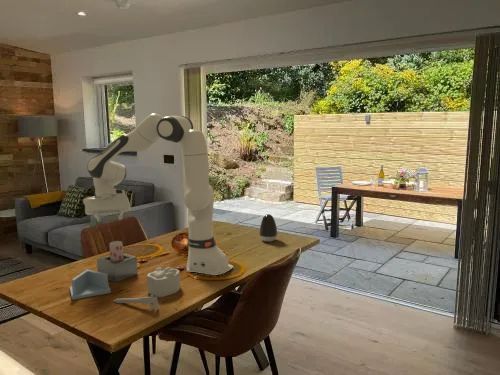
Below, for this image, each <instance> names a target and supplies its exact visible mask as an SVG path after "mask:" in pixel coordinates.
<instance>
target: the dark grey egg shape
mask: <svg viewBox="0 0 500 375" xmlns="http://www.w3.org/2000/svg"><path fill="white" fill-rule="evenodd" d="M259 225H260V226H259V234H258V235H259V237H260V239H261V240H262V241H263V242H269V243H270V242H273V241H276V240H277V237H278V228H277V223H276V220H275V219H274V217H273V215H272V214H265V215H264V216H263V217H262V219H261V223H260V224H259Z"/></svg>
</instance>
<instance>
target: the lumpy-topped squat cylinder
mask: <svg viewBox="0 0 500 375" xmlns="http://www.w3.org/2000/svg"><path fill="white" fill-rule="evenodd" d="M180 272H181V271H180V270H179V269H177V268H174V267H170V266H167V267H165V268H162V267H157V268H155V270H154V271H152V272H148V274H147V275H146V284H147V286H146V287H147V294H149V295H151V294H152V295H154V294H155V297H157V298H163V297H167V296H170V295H172V294H176V293H177V292H178V291H180V289H181V274H180Z"/></svg>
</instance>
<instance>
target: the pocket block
mask: <svg viewBox="0 0 500 375" xmlns="http://www.w3.org/2000/svg"><path fill="white" fill-rule="evenodd" d="M123 257H124V259H122V260H119V261H117V262H114V261H110V254H109V255H105V256H102V257H99V258H96V267H97V269H96V270H97V272H101V273H105V274H108V281H111V282H114V283H117V282H120V281H123V280H125V279H128V278H130V277H132V276H136V275H137V274H138V261H137V260H138V257H137V255H133V254H132V255H131V254H128V253H124V252H123Z"/></svg>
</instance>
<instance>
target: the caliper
mask: <svg viewBox="0 0 500 375" xmlns="http://www.w3.org/2000/svg"><path fill="white" fill-rule="evenodd" d="M112 302H113V303H117V304H141V306H143V305H147V304H148V305H149V307H150V309H151V311H156V312H157V311H159V300H158V297H155V294H154V295H152V294H149V296H141V297H139V298H138V297H137V298H136V297H134V298H133V297H132V298H131V297H130V298H128V297H127V298H125V297H123V298H115V299H114V300H113V301H112Z"/></svg>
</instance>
